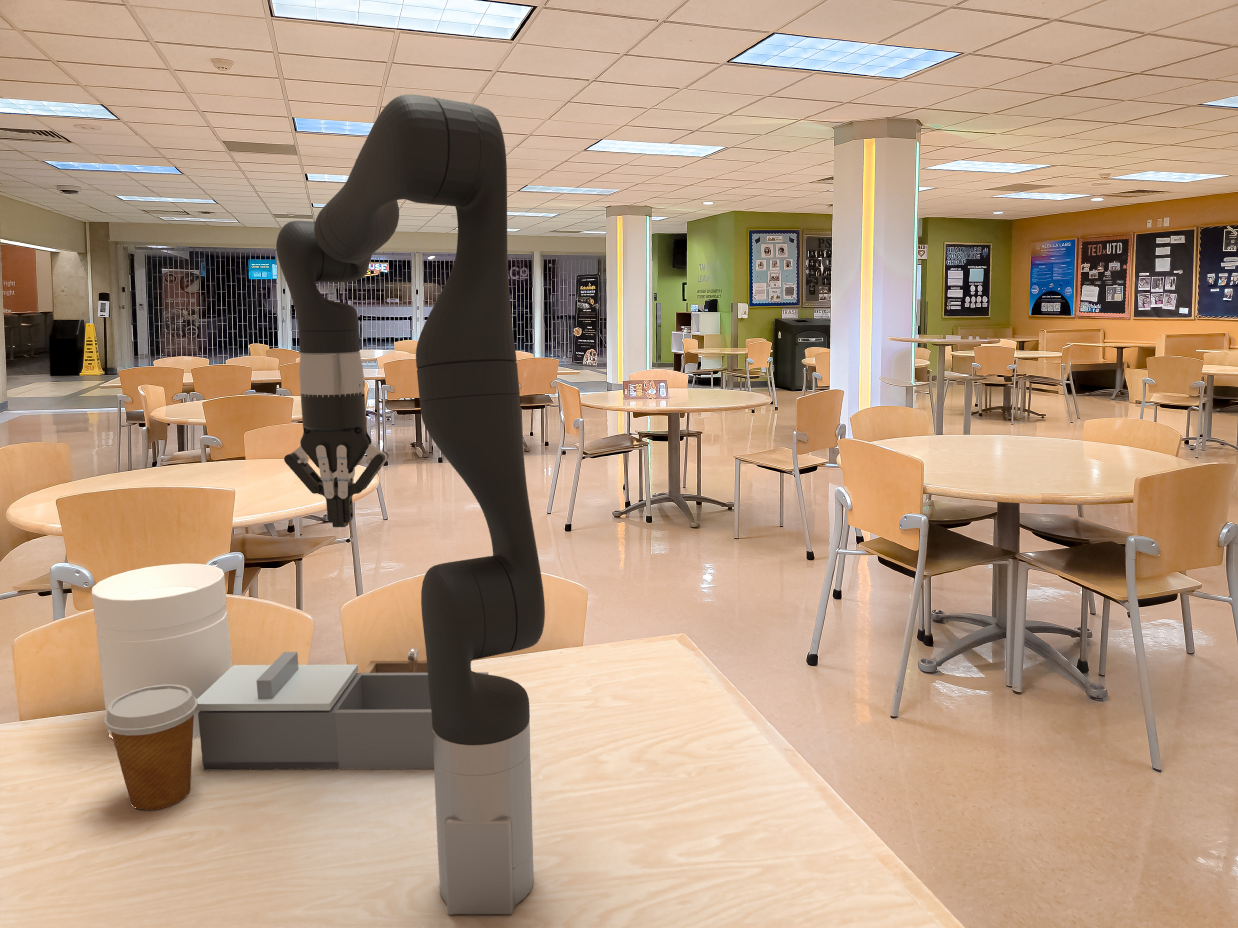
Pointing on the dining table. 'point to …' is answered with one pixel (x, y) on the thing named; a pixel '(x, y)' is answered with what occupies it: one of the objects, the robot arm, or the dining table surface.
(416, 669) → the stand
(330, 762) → the frame
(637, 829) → the dining table surface
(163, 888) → the dining table surface
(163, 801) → the disposable coffee cup
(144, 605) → the canister
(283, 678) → the lid
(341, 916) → the dining table surface
